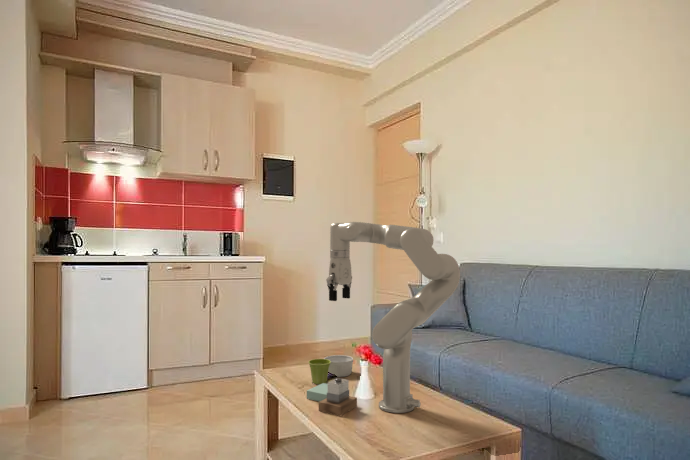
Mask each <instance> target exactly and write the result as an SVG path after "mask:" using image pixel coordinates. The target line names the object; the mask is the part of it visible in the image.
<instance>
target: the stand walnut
mask: <svg viewBox="0 0 690 460" xmlns="http://www.w3.org/2000/svg"><path fill="white" fill-rule="evenodd" d="M357 406H358V397H355V396H351V395H349V399H347V400H345V401H343V402H342V403H340V404H336V403H332V402H327V398H326V399H324V400H322V401H318V411H319V412H323V413H326V414H327V413H328V414H330V415H335V416H339V417H341V416H343V415H345V414H347V413H348V412H349V411H351V410H353V409H355V408H357Z"/></svg>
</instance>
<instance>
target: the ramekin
mask: <svg viewBox="0 0 690 460" xmlns="http://www.w3.org/2000/svg"><path fill="white" fill-rule="evenodd" d="M323 359H327V360H330V361H331V363H330V366H329V369H328V372H330V373H332V374H335V375H336V376H337V377H336V378H344V377H345V378H346V377H348V376H351V374H352V372H353V363H354V357H352V356H350V355H345V354H344V355H343V354H334V355H327V356H325V357H324V358H323Z"/></svg>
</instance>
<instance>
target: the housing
mask: <svg viewBox="0 0 690 460" xmlns="http://www.w3.org/2000/svg"><path fill="white" fill-rule="evenodd" d="M349 383H350V381H349V379H346V378H342V377H334V379H333V380H332V379H331V380H330V381H328V382H327V384H328V392H327V402H332V403H336V404H340V403H342V402H343V401H345V400H347V399H349V396H350V389H349Z"/></svg>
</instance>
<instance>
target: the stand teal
mask: <svg viewBox="0 0 690 460" xmlns="http://www.w3.org/2000/svg"><path fill="white" fill-rule="evenodd" d="M327 392H328V383H322V384H317V385H316V386H314V387H311V388H309V389H307V390H306V399H307V400H311V401H315V402H316V401H317V402H320V401H322V400H324V399H326V398H327Z"/></svg>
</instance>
